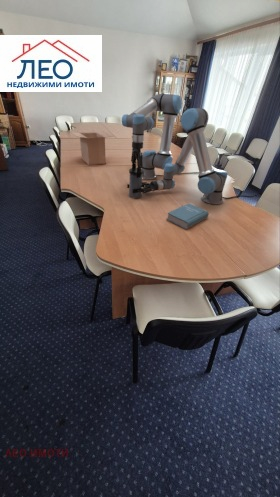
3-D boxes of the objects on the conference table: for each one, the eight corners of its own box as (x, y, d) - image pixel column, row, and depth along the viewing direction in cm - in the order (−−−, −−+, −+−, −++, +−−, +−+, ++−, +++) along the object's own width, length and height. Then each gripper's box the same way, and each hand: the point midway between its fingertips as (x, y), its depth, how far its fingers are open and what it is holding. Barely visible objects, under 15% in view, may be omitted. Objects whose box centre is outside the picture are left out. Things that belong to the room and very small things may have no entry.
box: (116, 165, 229) (116, 136, 213) (83, 168, 214) (80, 137, 198) (102, 154, 259) (101, 128, 243) (71, 156, 244) (68, 129, 228)
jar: (129, 198, 166) (130, 172, 154) (128, 193, 173) (129, 168, 162) (141, 198, 166) (143, 173, 155) (140, 193, 174) (142, 169, 163)
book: (187, 209, 155) (188, 203, 152) (207, 218, 146) (209, 211, 143) (166, 219, 142) (167, 212, 139) (187, 230, 133) (188, 222, 130)
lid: (141, 175, 155) (141, 173, 154) (127, 174, 156) (127, 171, 155) (144, 171, 163) (144, 168, 162) (130, 170, 164) (130, 167, 163)
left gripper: (127, 138, 154) (126, 170, 167) (138, 145, 137) (136, 180, 151) (137, 138, 157) (135, 169, 170) (149, 145, 140) (146, 179, 153)
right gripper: (162, 195, 167) (135, 199, 159) (149, 185, 183) (124, 188, 175) (163, 186, 163) (136, 189, 154) (150, 176, 178) (124, 178, 170)
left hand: (136, 174), depth 160 cm, fingers closed on lid, 10 cm apart
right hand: (129, 188), depth 164 cm, fingers closed on jar, 9 cm apart
